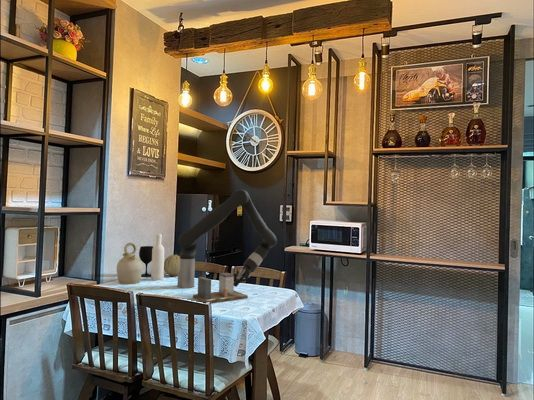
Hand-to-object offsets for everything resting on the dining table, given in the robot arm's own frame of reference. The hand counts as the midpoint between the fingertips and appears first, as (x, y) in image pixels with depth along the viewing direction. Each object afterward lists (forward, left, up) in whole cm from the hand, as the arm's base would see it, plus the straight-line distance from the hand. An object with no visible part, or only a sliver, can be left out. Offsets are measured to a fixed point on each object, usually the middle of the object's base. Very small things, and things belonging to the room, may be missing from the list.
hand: (234, 285), depth 222 cm
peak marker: (-1, -10, -4) cm, 11 cm away
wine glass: (-78, +31, -6) cm, 84 cm away
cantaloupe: (-61, +39, -6) cm, 72 cm away
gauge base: (-5, -7, -6) cm, 11 cm away
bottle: (-64, +23, -6) cm, 68 cm away
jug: (-74, +7, -6) cm, 74 cm away
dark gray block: (-11, -15, -4) cm, 19 cm away
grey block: (-2, -5, -4) cm, 7 cm away
